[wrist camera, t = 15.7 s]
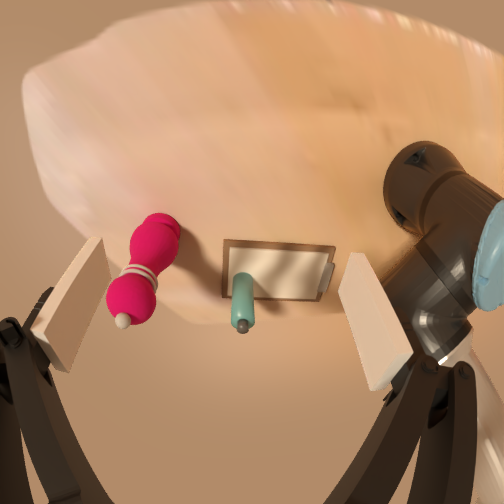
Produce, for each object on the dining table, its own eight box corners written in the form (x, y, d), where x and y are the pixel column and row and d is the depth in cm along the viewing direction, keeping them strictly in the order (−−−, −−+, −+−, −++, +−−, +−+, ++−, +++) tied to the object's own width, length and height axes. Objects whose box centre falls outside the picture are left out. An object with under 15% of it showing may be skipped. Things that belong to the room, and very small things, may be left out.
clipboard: (336, 246, 46) (338, 250, 45) (320, 299, 53) (321, 304, 52) (223, 239, 45) (223, 243, 44) (221, 295, 52) (221, 300, 51)
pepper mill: (184, 249, 46) (158, 350, 29) (143, 248, 46) (101, 343, 29) (181, 209, 42) (145, 305, 25) (136, 209, 42) (81, 299, 25)
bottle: (248, 269, 47) (250, 319, 38) (255, 284, 49) (258, 334, 40) (229, 275, 48) (226, 325, 39) (236, 289, 50) (235, 339, 41)
